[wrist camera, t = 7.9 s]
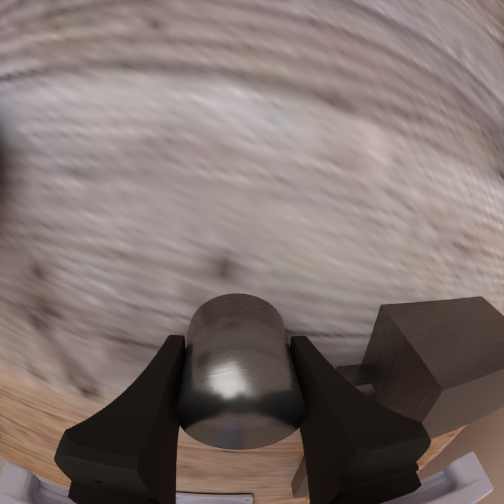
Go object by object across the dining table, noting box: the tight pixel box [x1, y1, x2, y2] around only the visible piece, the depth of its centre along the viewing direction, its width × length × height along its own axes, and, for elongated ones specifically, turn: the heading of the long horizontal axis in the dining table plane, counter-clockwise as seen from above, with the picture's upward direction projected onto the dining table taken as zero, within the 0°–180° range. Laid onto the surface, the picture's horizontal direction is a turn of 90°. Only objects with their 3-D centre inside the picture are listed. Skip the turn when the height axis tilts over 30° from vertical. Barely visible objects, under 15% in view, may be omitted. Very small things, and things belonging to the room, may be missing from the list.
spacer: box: [177, 294, 306, 450], centre depth 11 cm, size 4×4×5 cm
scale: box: [291, 297, 504, 502], centre depth 15 cm, size 21×11×6 cm, turn 177°
